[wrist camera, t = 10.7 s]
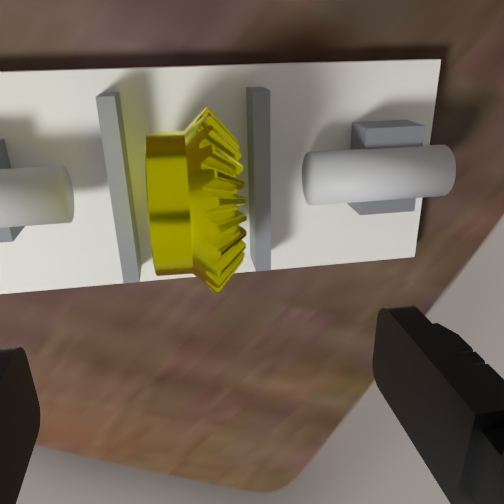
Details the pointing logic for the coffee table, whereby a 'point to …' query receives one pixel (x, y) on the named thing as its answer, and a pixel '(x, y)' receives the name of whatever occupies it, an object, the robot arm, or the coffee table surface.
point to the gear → (195, 201)
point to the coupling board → (252, 158)
